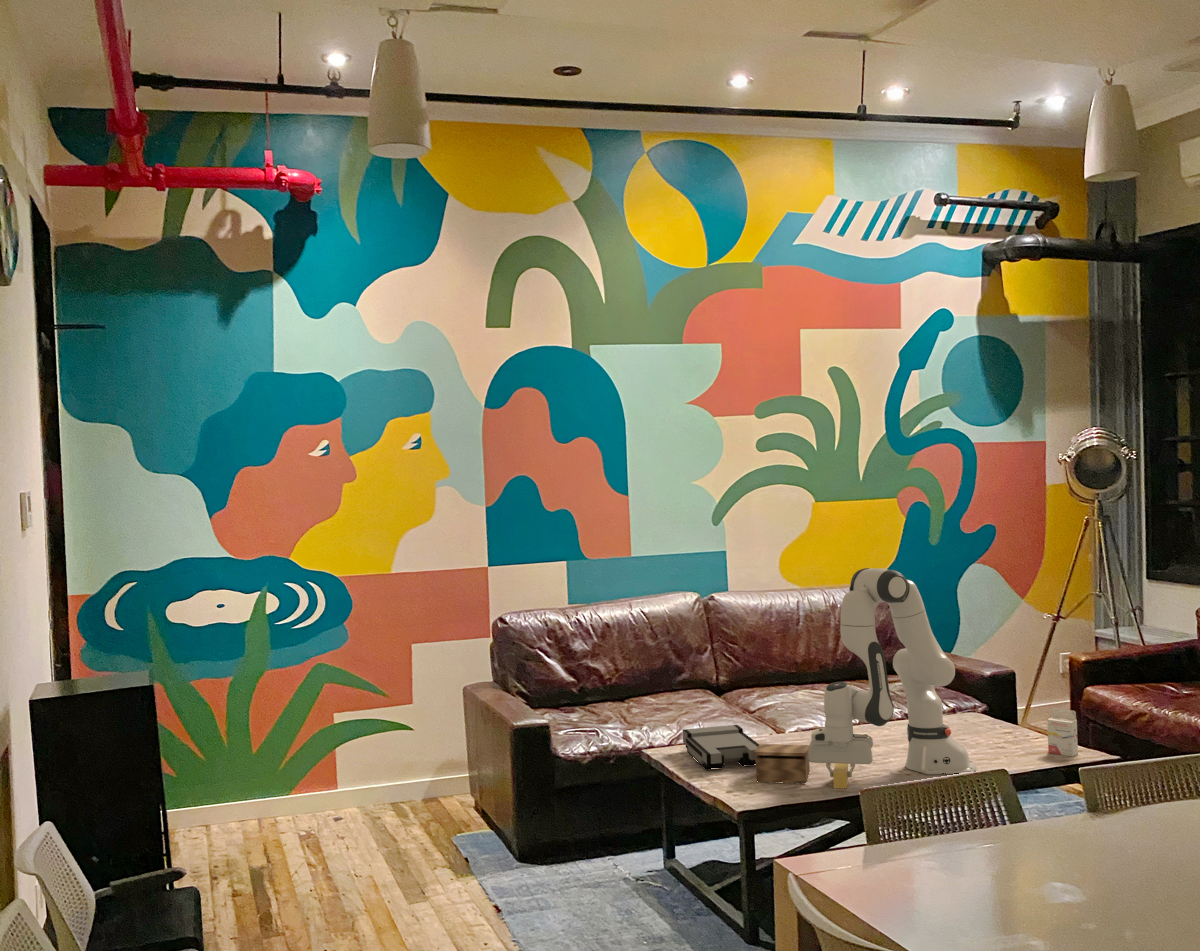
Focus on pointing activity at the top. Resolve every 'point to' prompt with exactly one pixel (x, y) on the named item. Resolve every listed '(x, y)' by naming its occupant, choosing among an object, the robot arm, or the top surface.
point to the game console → (720, 745)
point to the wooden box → (782, 768)
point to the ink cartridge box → (1062, 733)
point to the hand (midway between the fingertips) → (841, 776)
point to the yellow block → (840, 775)
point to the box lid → (782, 750)
